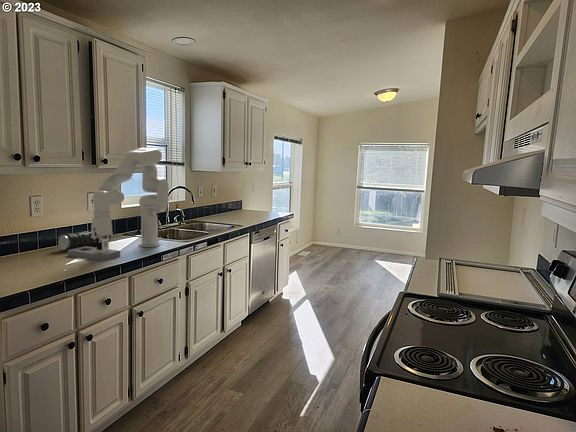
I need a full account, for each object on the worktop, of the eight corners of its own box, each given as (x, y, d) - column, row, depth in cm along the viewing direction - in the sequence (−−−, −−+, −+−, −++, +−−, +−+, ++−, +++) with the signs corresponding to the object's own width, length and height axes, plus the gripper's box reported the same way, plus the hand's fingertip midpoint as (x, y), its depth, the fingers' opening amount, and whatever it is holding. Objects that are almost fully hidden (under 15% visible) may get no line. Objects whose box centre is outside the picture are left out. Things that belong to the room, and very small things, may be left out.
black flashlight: (111, 245, 237) (111, 228, 236) (68, 253, 212) (68, 235, 211) (100, 243, 241) (100, 227, 240) (57, 251, 216) (56, 233, 215)
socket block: (86, 252, 216) (86, 245, 216) (120, 257, 208) (120, 250, 208) (67, 256, 205) (67, 249, 205) (102, 261, 197) (102, 254, 197)
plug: (102, 254, 207) (102, 237, 206) (109, 255, 206) (109, 238, 204) (96, 255, 203) (96, 239, 202) (103, 256, 202) (103, 239, 201)
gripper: (108, 212, 211) (109, 245, 213) (83, 215, 195) (84, 251, 198) (119, 213, 208) (120, 246, 211) (94, 216, 193) (95, 252, 195)
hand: (102, 248), depth 204 cm, fingers closed on plug, 3 cm apart
